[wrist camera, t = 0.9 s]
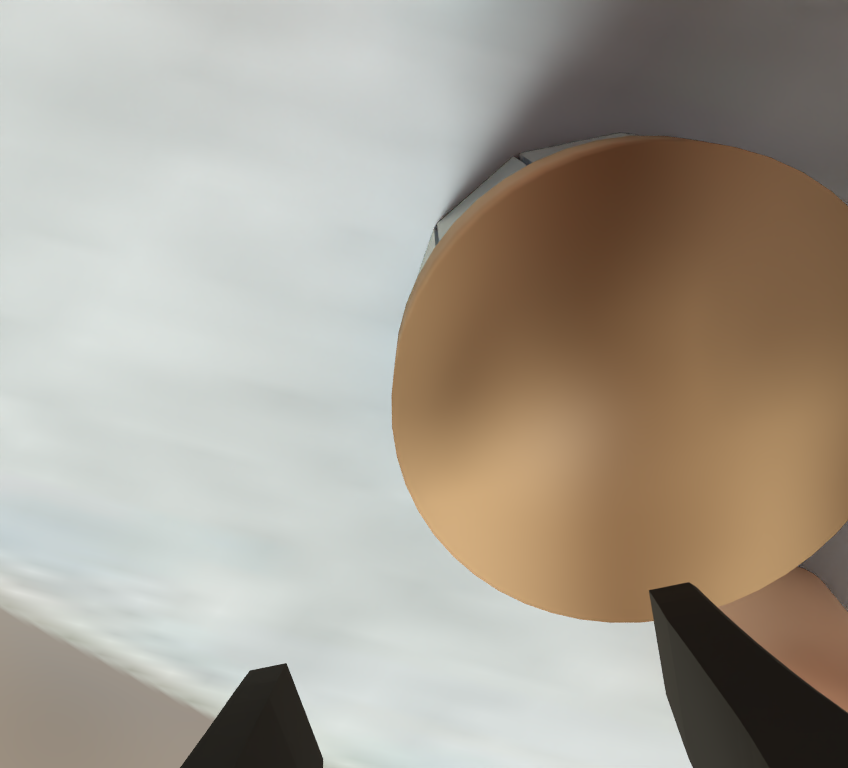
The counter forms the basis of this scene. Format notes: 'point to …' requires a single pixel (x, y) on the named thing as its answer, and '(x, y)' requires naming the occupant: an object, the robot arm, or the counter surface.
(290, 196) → the counter surface
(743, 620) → the peg
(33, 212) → the counter surface
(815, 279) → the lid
